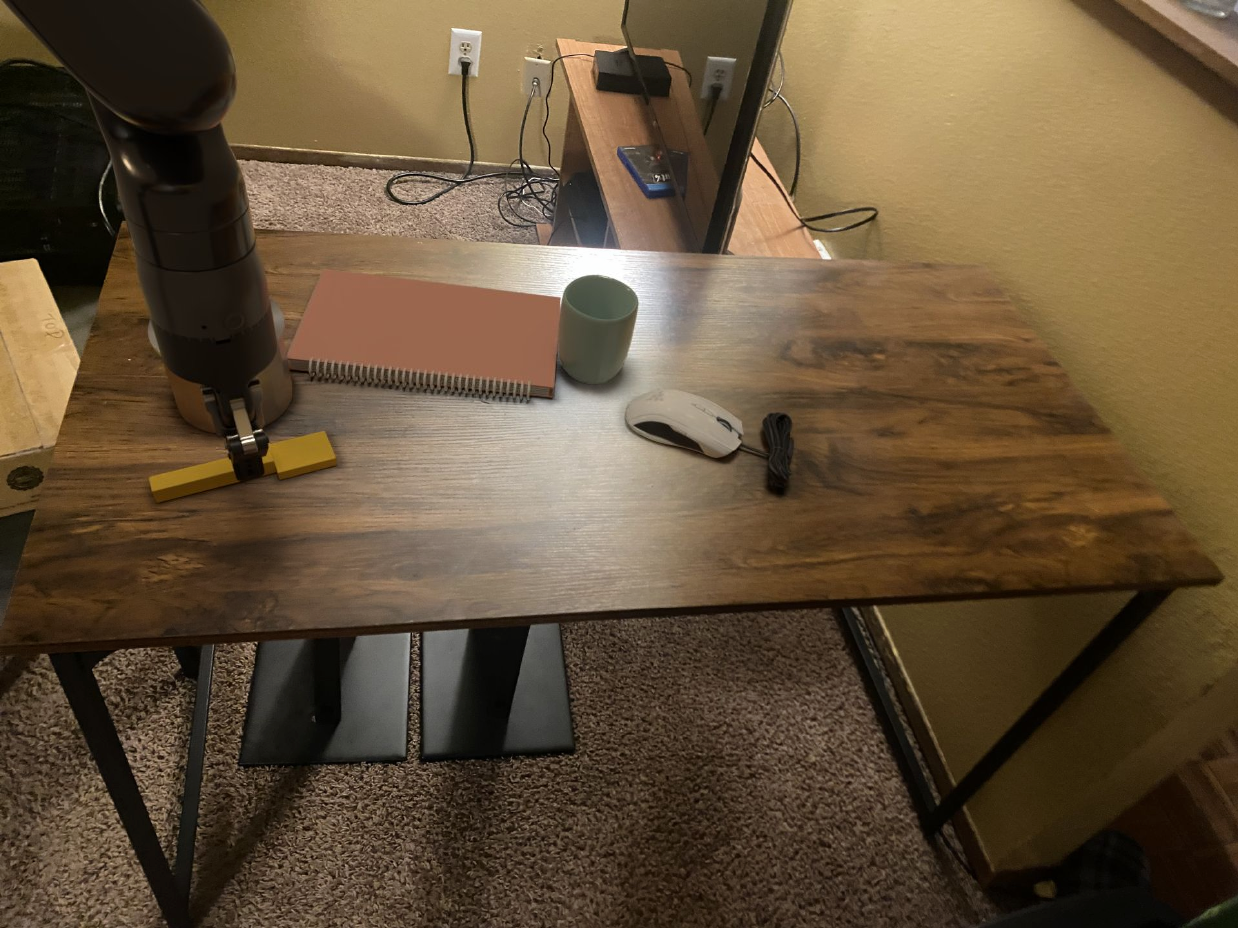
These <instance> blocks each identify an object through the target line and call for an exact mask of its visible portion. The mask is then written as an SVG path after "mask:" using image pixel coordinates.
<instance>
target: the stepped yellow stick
mask: <svg viewBox="0 0 1238 928" xmlns="http://www.w3.org/2000/svg"><path fill="white" fill-rule="evenodd" d="M268 445H269V449H268V452H267V455H266V456H264V457H262V460H263V465H264V470H265V473H264V475H262V476H261V477H263V476H267V475H271V474H275V473H276V474H277V476H278V480H279V481H281V480H285V479H289V478H292V477H297V476H300V475H303V474H307V473H311V472H312V473H313V472H315V471H320V470H323V469H327V468H330V467H335V466H337V465H338V462H337V461H338V460H337V457H336V454H335V452H334V449H333V447H332V445H331V442H330V440H329V438H328V435H327V433H326V431H325V430H321V431H317V432H314V433H308V434H306V435H305V434H304V435H301V436H297V437H293V438H288V439H285V440H281V441H277V442H273V443H268ZM148 481H149V485H150V489H151V493H152V495H153V498H154V500H155V503H156V504H157V503H162V502H166V501H170V500H174V499H178V498H181V497H186V496H191V495H193V494H197V493H201V492H205V491H208V490H213V489H217V488H220V487H224V486H228V485H232V484H236V483H240V482H241V481H239V480H237V479H236V476H235V473H234V470H233V467H232V463H231V460H229V458H228V457H225V458H221V459H217V460H213V461H209V462H204V463H201V464H197V465H193V466H188V467H184V468H180V469H176V470H172V471H167V472H164V473H158V474H156V475H152V476H149V477H148Z"/></svg>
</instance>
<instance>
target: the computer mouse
mask: <svg viewBox="0 0 1238 928" xmlns="http://www.w3.org/2000/svg"><path fill="white" fill-rule="evenodd" d="M624 417H625V420H626V422H627V424H628V425H629V427H630V428H631V429H632V430H633V431H634V432H635V433H636V434H638V435H640V436H642V437H644V438H647V439H648V440H651V441H654V442H657V443H660V444H665V445H670V446H676V447H681V448H685V449H689V450H692V451H696V452H698V453H701V454H703V455H706V456H708V457H711V458H715V459H718V458H722V457H726V456H728V455H729V454H731V453H732V452H734V451H736V450H737V449H738V448H740V447H742V448H744V449H746V450H749V451H752V452H755V453H758V454H760V455H764V456H766V457H768V460H767V470H768V481H769V485H770V488H772V489H776V488H780V489H785V488H786V487H787V486H788V482H789V478H790V476H792V475H793V471H792V469H791V468H790V464H791V462H790V461H791V459H792V457H793V455H794V451H795V449H794V446H795V441H794V438H793V433H792V429H793V425H794V423H793V420H792V418H791V416H789V414H787V413H785V412H780V411H779V412H778V411H777V412H769V413H767V415H766V416H765V417H764V418H763V419H762V422H761V423H762V430H763V433H764V435H765V439H766V441H767V443H768V446H769V449H770V451H769V452H766V451H764V450H761V449H757V448H755V447H752V446H749V445H746V444H744V443H742V440H740V439H739V438H740V437H741V436H745V433H744V427H743V421H742V420H740V419H739V418H737V417H736V416H734V415H733V414H732V413H730V412H729V411H727V410H726V409H725V408H723V407H722V406H720V405H719V404H718V403H715V402H713V401H711V400H709V399H707V398H705V397H702V396H700V395H697V394H694V393H691V392H688V391H684V390H680V389H674V388H662V389H655V390H651V391H649V392H646V393H644V394H641V395H639V396H637V397H635V398H633V399H632V400H630V402H629V403H627V405H626V407H625V410H624Z"/></svg>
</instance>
